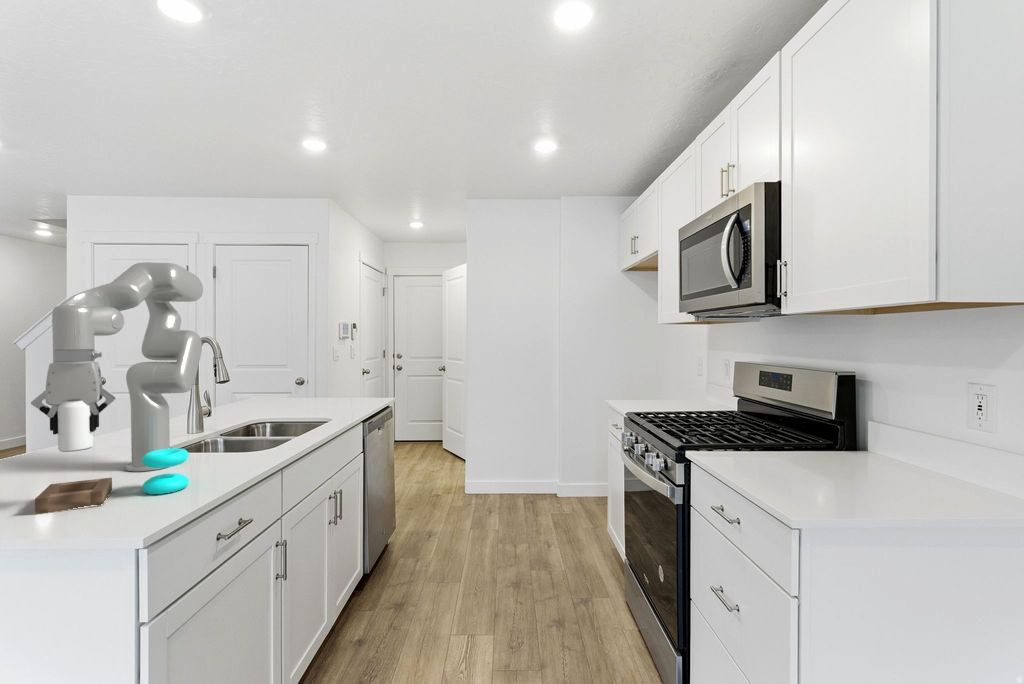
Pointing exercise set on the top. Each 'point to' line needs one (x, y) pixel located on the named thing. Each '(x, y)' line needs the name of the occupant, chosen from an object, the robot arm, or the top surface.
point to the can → (74, 426)
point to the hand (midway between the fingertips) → (75, 431)
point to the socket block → (73, 495)
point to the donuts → (165, 481)
